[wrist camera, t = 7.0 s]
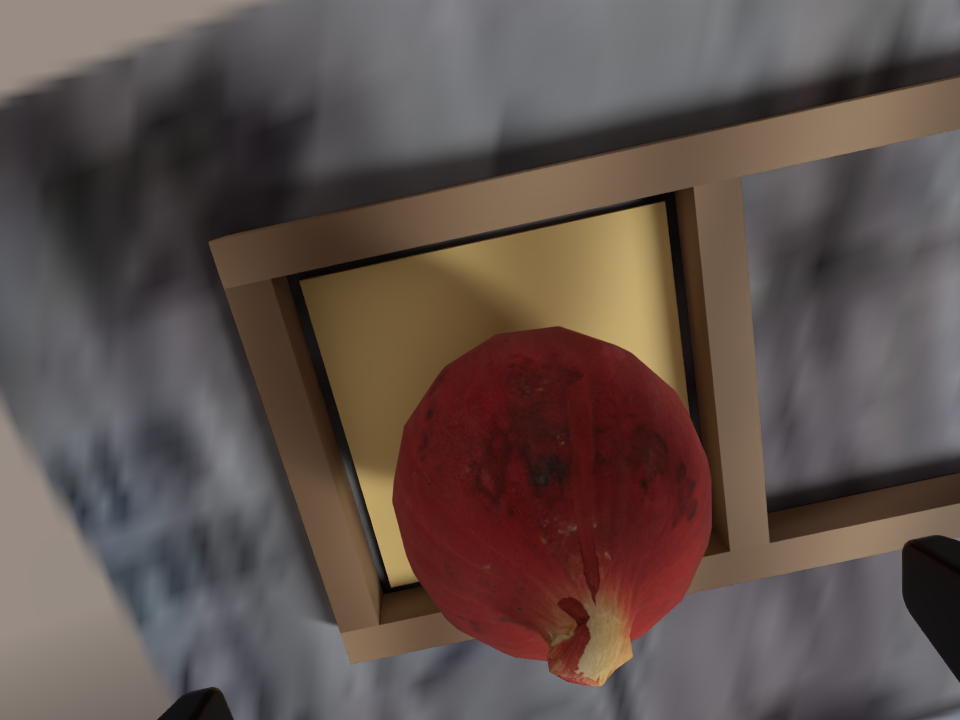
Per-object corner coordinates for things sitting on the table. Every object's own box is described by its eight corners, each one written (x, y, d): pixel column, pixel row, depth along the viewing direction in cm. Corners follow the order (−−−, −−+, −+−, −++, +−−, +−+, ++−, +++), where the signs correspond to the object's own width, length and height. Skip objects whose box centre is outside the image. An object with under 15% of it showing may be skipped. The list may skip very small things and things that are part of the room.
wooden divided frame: (1163, 30, 14) (1228, 18, 13) (1113, 472, 17) (1160, 494, 16) (227, 235, 14) (208, 242, 13) (357, 631, 17) (351, 664, 16)
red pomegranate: (385, 314, 15) (320, 480, 7) (632, 276, 15) (834, 401, 7) (427, 531, 16) (412, 852, 9) (647, 497, 16) (823, 789, 9)
